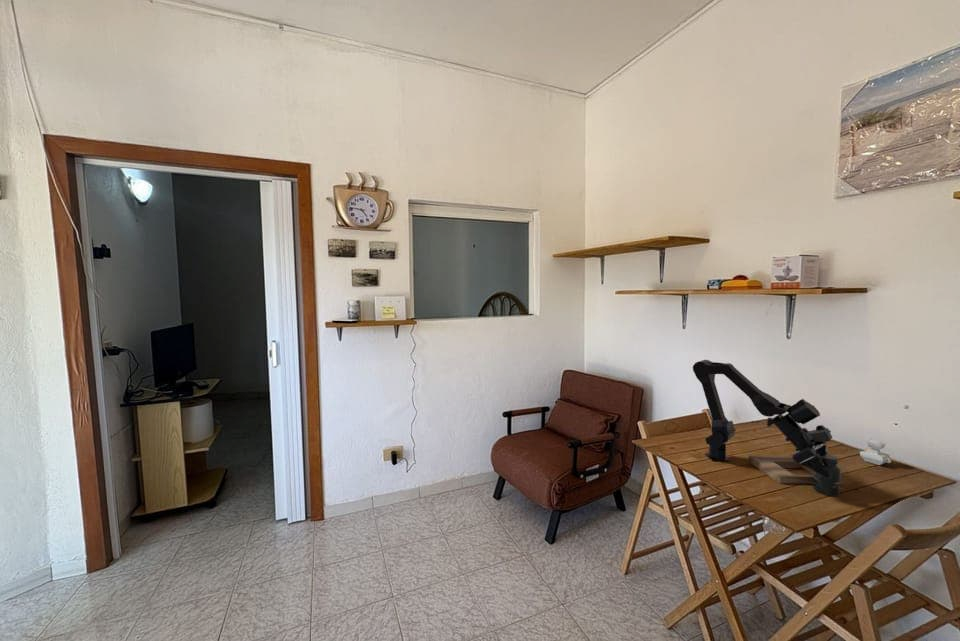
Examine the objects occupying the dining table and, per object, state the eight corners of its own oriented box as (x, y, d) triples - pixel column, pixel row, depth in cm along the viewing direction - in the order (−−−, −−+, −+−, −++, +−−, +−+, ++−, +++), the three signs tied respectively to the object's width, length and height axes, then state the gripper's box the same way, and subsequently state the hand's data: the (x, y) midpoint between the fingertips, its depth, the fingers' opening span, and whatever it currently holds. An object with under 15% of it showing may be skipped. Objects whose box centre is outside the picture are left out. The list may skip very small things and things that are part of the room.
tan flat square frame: (748, 461, 154) (748, 455, 154) (795, 461, 153) (796, 455, 153) (779, 483, 137) (780, 476, 137) (833, 483, 137) (833, 476, 136)
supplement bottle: (841, 498, 127) (844, 463, 126) (814, 493, 131) (816, 458, 130) (837, 489, 133) (839, 455, 132) (810, 484, 137) (813, 450, 135)
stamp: (894, 465, 150) (896, 444, 149) (886, 469, 147) (888, 447, 146) (863, 456, 158) (864, 436, 157) (855, 459, 155) (857, 439, 154)
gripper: (806, 425, 127) (851, 470, 120) (820, 413, 139) (861, 453, 131) (776, 441, 134) (816, 485, 126) (791, 428, 146) (828, 468, 138)
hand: (831, 472), depth 130 cm, fingers open, 9 cm apart
